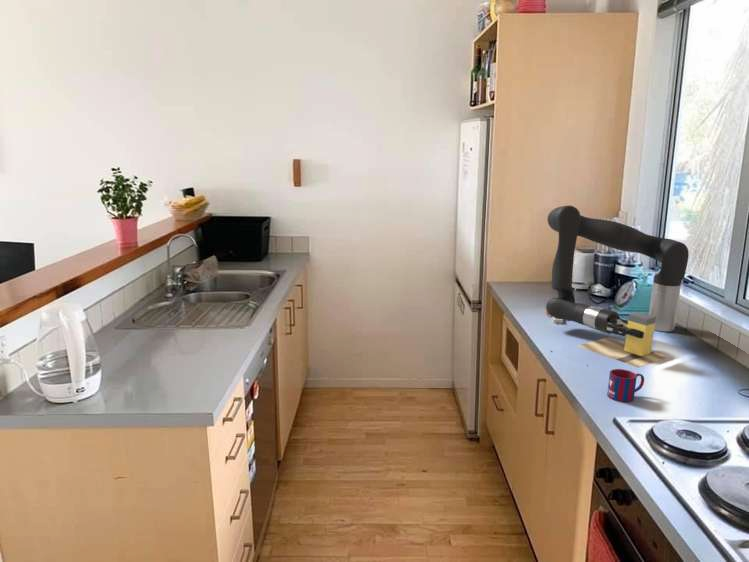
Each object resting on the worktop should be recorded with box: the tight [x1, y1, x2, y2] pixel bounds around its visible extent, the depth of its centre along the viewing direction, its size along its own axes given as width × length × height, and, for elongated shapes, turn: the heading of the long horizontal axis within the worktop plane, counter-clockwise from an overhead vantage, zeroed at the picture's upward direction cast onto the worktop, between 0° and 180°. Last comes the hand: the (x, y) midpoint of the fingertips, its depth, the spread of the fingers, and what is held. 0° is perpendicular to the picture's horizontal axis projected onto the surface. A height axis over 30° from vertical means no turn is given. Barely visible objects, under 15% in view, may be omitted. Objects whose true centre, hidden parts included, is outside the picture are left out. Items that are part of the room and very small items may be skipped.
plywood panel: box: [577, 336, 669, 368], centre depth 191 cm, size 17×22×1 cm
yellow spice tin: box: [624, 311, 656, 356], centre depth 186 cm, size 5×6×12 cm
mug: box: [606, 368, 645, 403], centre depth 159 cm, size 7×10×7 cm
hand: (647, 333), depth 184 cm, fingers closed on yellow spice tin, 5 cm apart
